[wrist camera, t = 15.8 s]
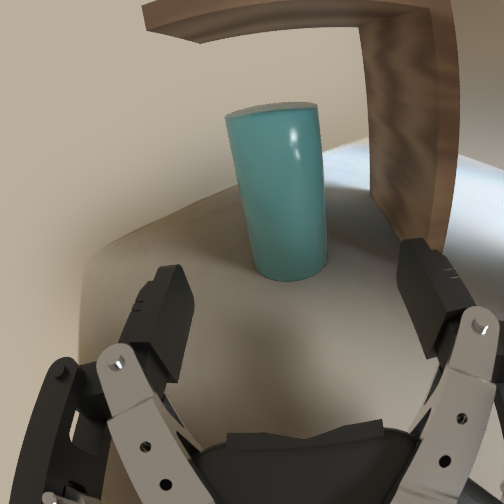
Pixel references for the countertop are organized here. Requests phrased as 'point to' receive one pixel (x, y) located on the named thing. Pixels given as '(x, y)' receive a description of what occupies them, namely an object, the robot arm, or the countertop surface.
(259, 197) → the teal rounded cylinder
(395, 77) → the shelf
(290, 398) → the countertop surface
